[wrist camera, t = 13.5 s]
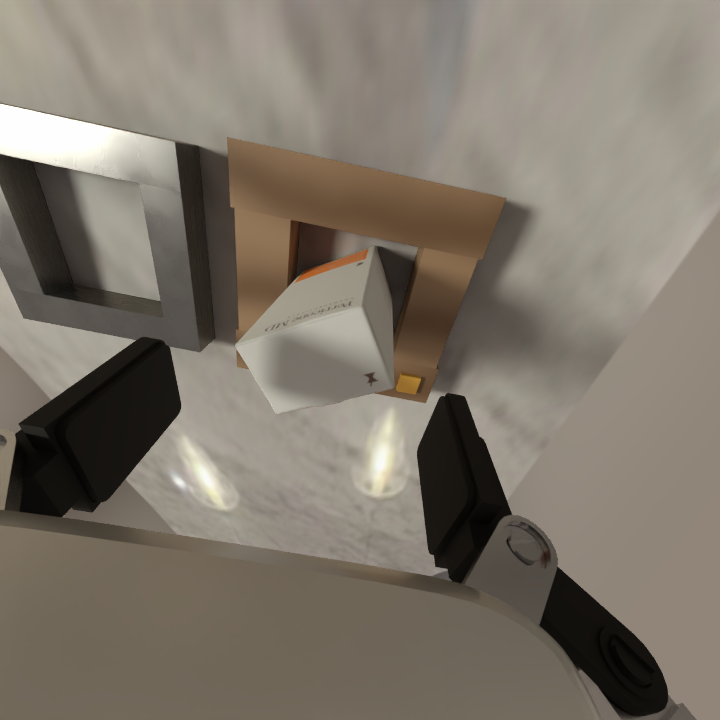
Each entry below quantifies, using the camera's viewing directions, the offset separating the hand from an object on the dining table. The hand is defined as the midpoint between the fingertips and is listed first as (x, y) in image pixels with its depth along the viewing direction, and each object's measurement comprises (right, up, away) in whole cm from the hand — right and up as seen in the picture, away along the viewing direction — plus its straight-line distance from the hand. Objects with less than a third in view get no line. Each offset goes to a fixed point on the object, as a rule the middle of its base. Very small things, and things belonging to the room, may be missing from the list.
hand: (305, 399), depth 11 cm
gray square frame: (-16, +10, +12) cm, 23 cm away
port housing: (+1, +7, +12) cm, 14 cm away
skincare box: (+1, +7, +13) cm, 15 cm away
